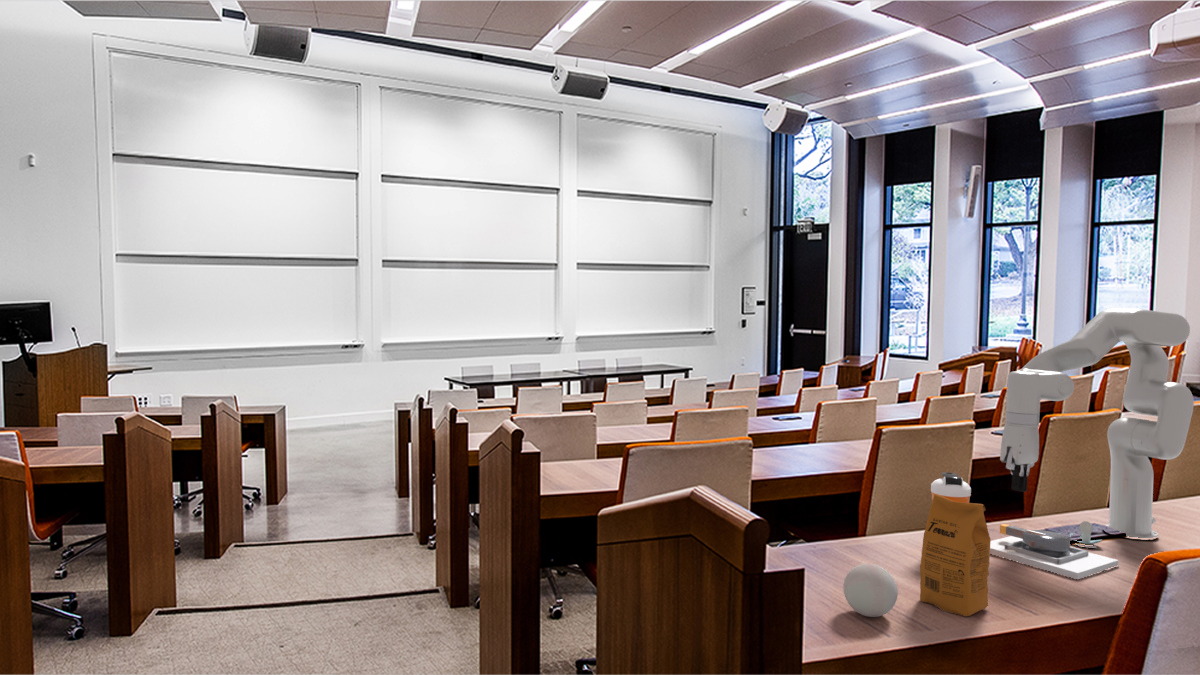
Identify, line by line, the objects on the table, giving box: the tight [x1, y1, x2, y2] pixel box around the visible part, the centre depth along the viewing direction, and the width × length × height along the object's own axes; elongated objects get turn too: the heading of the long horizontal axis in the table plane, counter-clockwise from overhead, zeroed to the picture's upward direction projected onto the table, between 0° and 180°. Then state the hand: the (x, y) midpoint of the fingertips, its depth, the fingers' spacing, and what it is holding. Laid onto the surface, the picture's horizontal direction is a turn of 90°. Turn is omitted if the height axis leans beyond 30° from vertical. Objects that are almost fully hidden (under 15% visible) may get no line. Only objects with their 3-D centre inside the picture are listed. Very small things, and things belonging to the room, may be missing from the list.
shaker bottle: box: [930, 471, 972, 503], centre depth 187 cm, size 9×9×20 cm
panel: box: [989, 535, 1120, 580], centre depth 186 cm, size 18×24×3 cm
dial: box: [999, 523, 1071, 558], centre depth 188 cm, size 16×10×4 cm, turn 31°
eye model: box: [842, 563, 899, 618], centre depth 150 cm, size 10×10×10 cm
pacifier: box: [1069, 520, 1103, 549], centre depth 197 cm, size 7×6×6 cm
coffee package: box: [919, 494, 992, 617], centre depth 155 cm, size 10×12×22 cm
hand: (1019, 490), depth 196 cm, fingers closed
